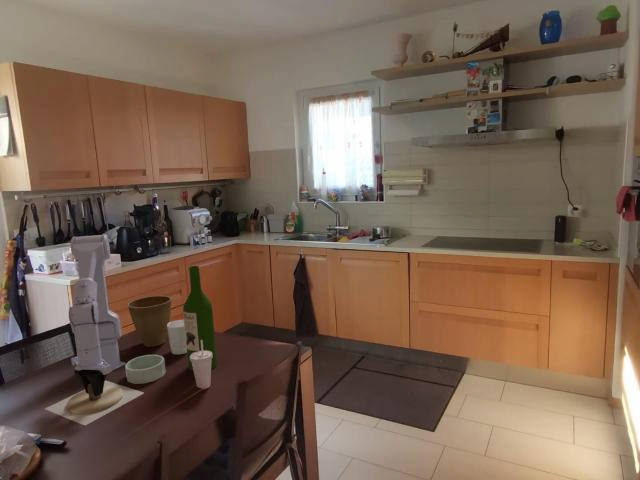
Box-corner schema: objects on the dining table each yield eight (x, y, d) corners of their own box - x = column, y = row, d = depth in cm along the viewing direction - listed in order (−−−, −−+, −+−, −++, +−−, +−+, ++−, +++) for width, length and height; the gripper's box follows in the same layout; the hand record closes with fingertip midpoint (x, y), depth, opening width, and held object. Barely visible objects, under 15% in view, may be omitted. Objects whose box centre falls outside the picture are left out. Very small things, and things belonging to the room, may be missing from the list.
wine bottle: (182, 370, 143) (172, 269, 138) (200, 358, 151) (191, 263, 146) (206, 373, 140) (196, 271, 134) (222, 361, 148) (214, 264, 142)
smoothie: (209, 392, 128) (205, 345, 126) (188, 390, 129) (183, 344, 127) (218, 381, 134) (214, 336, 132) (198, 380, 136) (194, 335, 133)
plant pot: (183, 337, 171) (179, 296, 168) (156, 353, 157) (151, 308, 154) (152, 333, 176) (147, 294, 173) (123, 348, 162) (118, 305, 160)
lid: (55, 407, 123) (53, 390, 122) (102, 384, 135) (100, 369, 134) (87, 419, 116) (85, 402, 115) (133, 394, 128) (132, 378, 127)
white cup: (172, 347, 162) (169, 320, 160) (195, 345, 163) (192, 318, 161) (167, 356, 154) (164, 328, 153) (190, 354, 155) (188, 326, 153)
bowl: (119, 381, 138) (117, 366, 137) (148, 366, 147) (147, 352, 146) (143, 388, 132) (142, 373, 132) (172, 372, 142) (171, 358, 141)
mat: (44, 410, 122) (44, 408, 122) (104, 381, 137) (104, 380, 137) (85, 427, 113) (85, 425, 113) (144, 394, 128) (144, 392, 128)
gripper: (58, 347, 123) (64, 394, 125) (91, 356, 115) (97, 406, 118) (82, 338, 129) (88, 383, 131) (115, 346, 121) (121, 393, 124)
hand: (94, 393), depth 125 cm, fingers closed on lid, 3 cm apart
